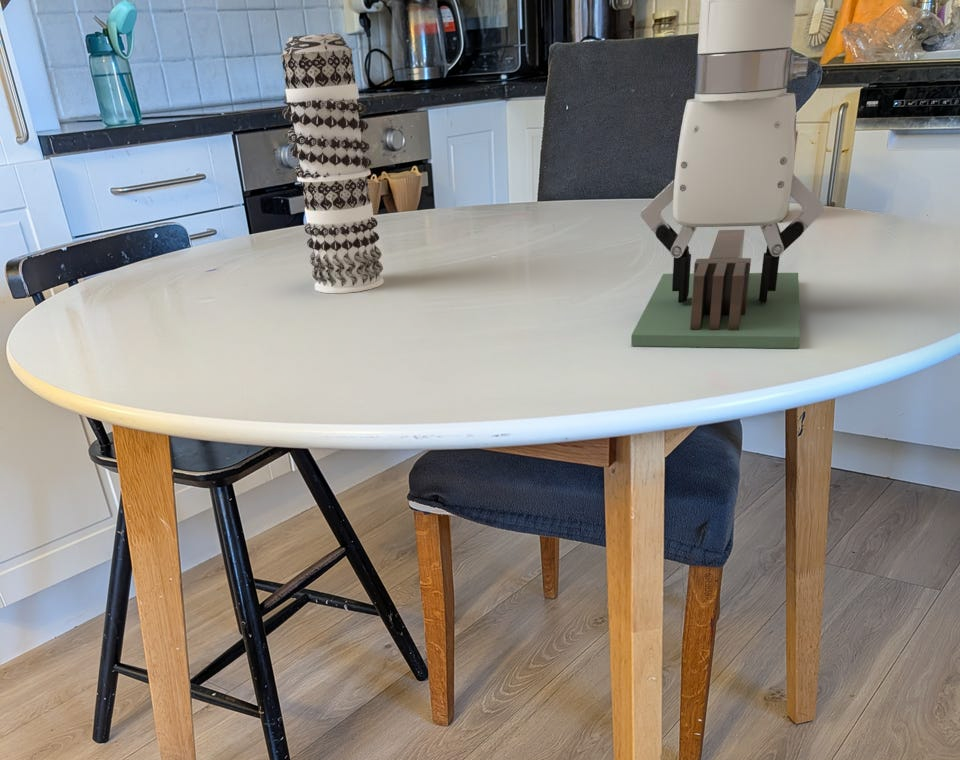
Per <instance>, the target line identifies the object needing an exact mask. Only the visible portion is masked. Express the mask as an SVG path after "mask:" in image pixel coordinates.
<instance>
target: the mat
mask: <svg viewBox="0 0 960 760" xmlns="http://www.w3.org/2000/svg"><path fill="white" fill-rule="evenodd" d="M761 275H762V272H750V274H749V284H748V294H747V304H746V313H745V315H741V319H740V325H739V330H728V323H729V315H723V316H722V321H721V325H720V329H719V330H709V322H710V315H705V316H704V319H703V323H702V326H701V329H700V330H690V324H691V309H692V293H693V278H694V273H690V280H689V294H688V297H687V300H686V301H684V303H678V296H679V291H672V283H673V273H662V275H661V277H660V279H659V282H658V283H657V285H656V287H655V289H654V290H653V292H652V295H651V296H650V299H649V300H648V302H647V305H646V306H645V308H644V310H643V312H642V314H641V316H640V318H639V319H638V321H637V323H636V325H635V328H634V329H633V331H632V333H631V339H630V340H631V342H630V343H631V347H665V348H667V347H668V348H669V347H670V348H671V347H673V348H675V347H677V348H736V349H737V348H743V349H747V348H748V349H750V348H751V349H799V348H800V341H801V320H800V319H801V317H800V286H799V285H800V284H799V283H800V282H799V281H800V280H799V272H778V274H777V283H776V291H768V293H767V301H766V303H761V301H759V293H760V284H761Z"/></svg>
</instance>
